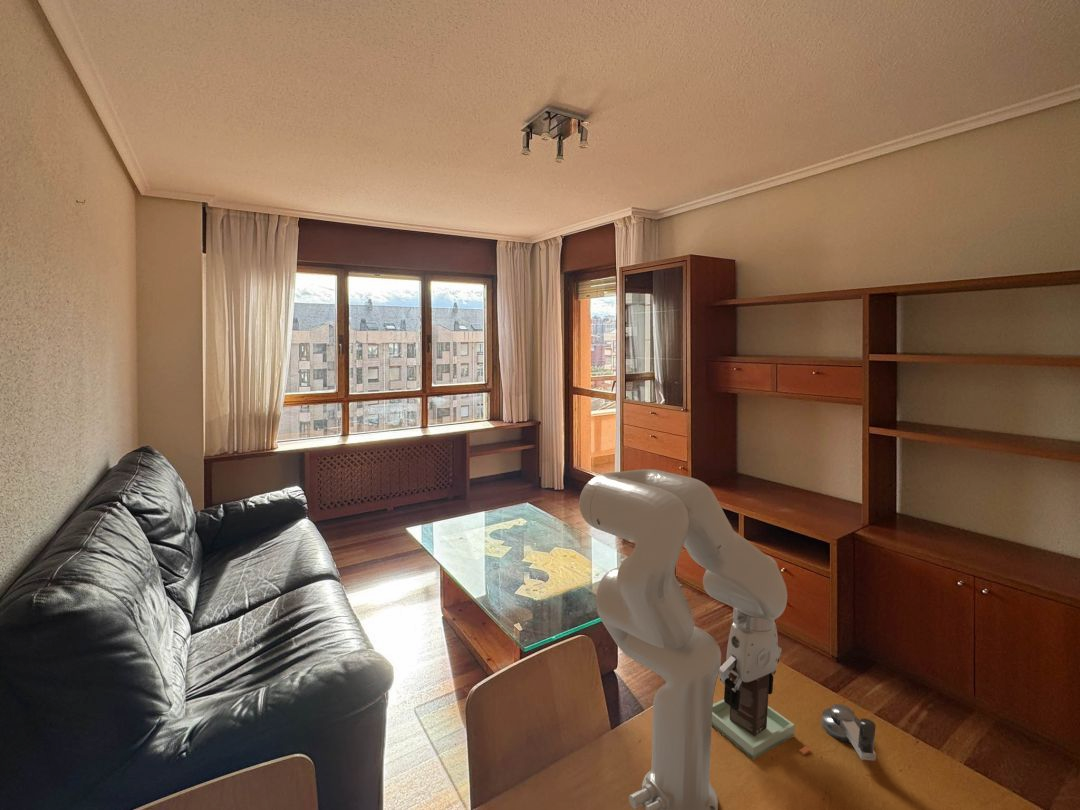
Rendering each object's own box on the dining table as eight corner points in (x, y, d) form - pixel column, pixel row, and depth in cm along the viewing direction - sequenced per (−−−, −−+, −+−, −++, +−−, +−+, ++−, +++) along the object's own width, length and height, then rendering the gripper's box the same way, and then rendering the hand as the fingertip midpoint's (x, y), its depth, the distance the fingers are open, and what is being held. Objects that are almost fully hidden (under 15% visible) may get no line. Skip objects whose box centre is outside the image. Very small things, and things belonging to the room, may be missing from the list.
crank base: (818, 766, 96) (819, 757, 95) (785, 741, 102) (785, 731, 101) (869, 734, 103) (870, 725, 103) (835, 712, 109) (835, 703, 109)
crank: (827, 711, 107) (829, 682, 106) (848, 712, 106) (850, 684, 105) (856, 759, 95) (859, 727, 94) (880, 761, 94) (883, 728, 93)
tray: (752, 760, 97) (753, 747, 97) (704, 719, 108) (704, 708, 107) (793, 736, 103) (794, 724, 103) (744, 699, 113) (744, 688, 113)
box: (767, 727, 104) (771, 672, 103) (754, 737, 102) (757, 681, 100) (741, 710, 109) (743, 657, 107) (727, 719, 107) (730, 665, 105)
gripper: (738, 638, 95) (733, 724, 97) (799, 615, 103) (792, 695, 105) (707, 618, 101) (702, 700, 103) (766, 598, 109) (761, 674, 111)
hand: (748, 697), depth 104 cm, fingers open, 9 cm apart
